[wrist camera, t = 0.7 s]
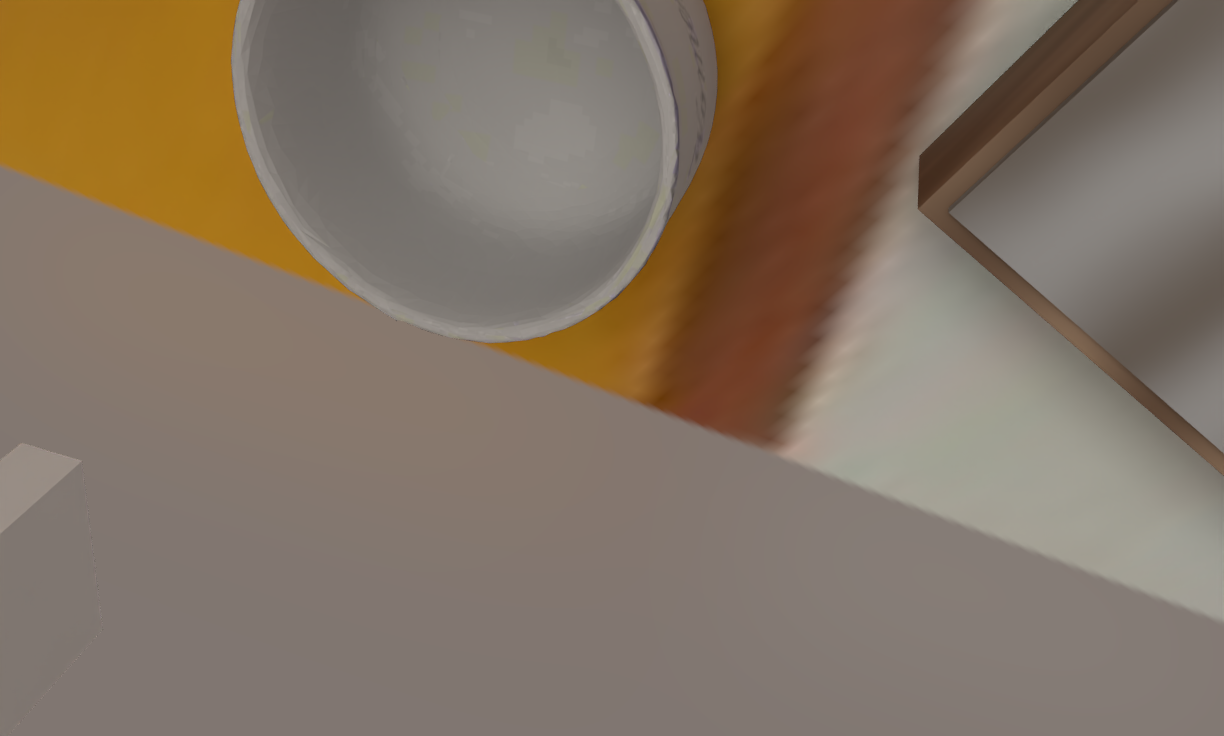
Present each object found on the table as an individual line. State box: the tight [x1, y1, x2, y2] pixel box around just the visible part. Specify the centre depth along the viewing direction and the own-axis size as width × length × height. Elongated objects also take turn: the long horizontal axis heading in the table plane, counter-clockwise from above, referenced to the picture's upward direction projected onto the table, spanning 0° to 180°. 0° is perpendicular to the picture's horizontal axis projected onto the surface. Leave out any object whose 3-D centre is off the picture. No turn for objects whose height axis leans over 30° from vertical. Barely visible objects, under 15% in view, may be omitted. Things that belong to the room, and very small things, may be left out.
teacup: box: [231, 0, 717, 343], centre depth 27 cm, size 14×11×8 cm
